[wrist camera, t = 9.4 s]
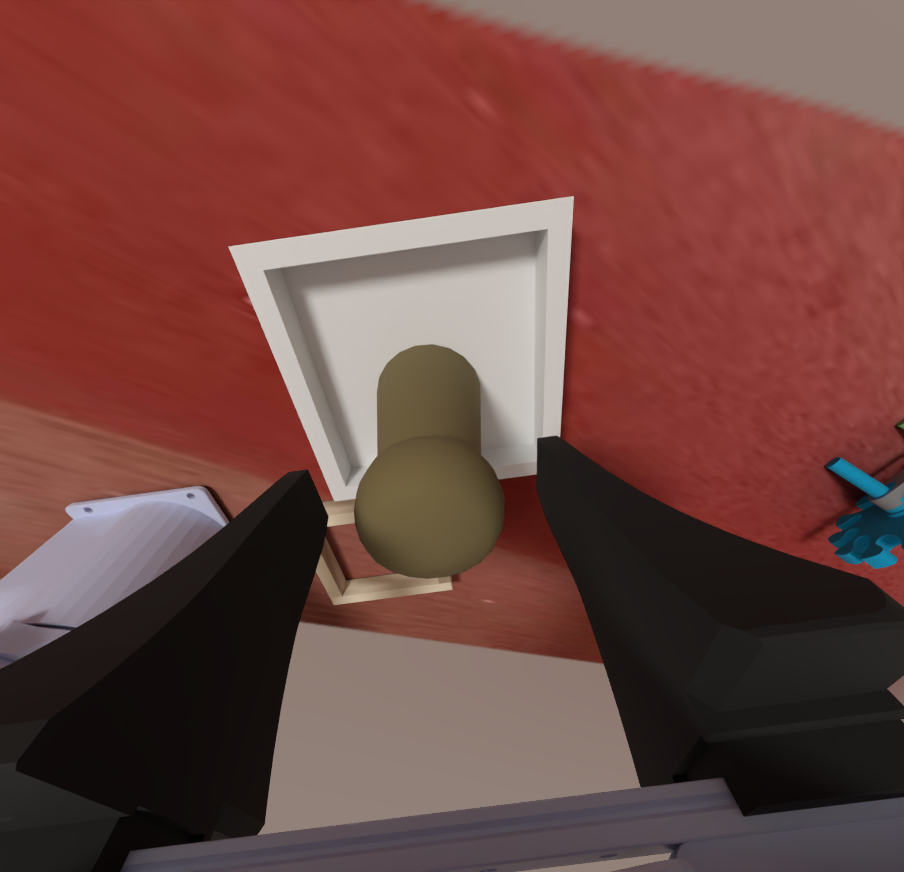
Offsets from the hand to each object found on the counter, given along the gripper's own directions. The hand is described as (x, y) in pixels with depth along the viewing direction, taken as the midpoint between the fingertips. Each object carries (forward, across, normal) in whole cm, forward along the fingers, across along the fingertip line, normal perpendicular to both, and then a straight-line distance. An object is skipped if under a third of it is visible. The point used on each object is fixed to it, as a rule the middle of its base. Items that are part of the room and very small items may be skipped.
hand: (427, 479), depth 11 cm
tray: (+10, 0, 0) cm, 10 cm away
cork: (+10, 0, +2) cm, 10 cm away
